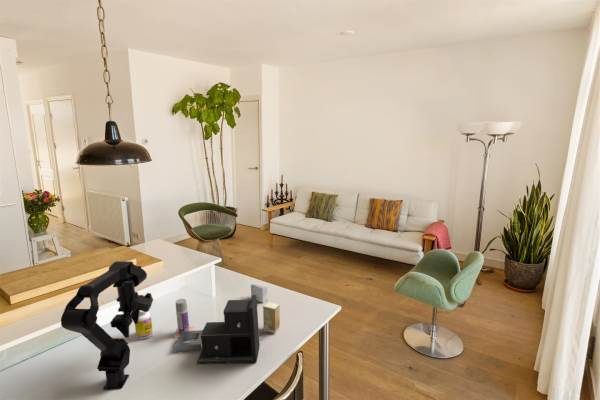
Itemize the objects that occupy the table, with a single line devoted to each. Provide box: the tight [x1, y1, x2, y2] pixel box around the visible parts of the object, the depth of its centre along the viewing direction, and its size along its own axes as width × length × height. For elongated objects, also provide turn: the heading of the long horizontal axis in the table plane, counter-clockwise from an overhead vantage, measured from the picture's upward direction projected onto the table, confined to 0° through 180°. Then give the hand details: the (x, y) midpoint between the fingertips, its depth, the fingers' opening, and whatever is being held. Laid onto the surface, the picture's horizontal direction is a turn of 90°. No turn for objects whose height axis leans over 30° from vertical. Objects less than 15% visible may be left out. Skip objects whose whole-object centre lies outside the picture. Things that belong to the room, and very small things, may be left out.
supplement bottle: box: [134, 310, 154, 340], centre depth 149 cm, size 7×7×13 cm
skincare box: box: [262, 301, 281, 335], centre depth 151 cm, size 6×4×12 cm
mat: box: [173, 326, 195, 339], centre depth 152 cm, size 7×7×1 cm
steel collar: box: [174, 329, 203, 353], centre depth 143 cm, size 10×10×3 cm
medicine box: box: [250, 281, 269, 304], centre depth 179 cm, size 8×4×9 cm, turn 58°
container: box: [175, 298, 190, 335], centre depth 150 cm, size 5×5×15 cm
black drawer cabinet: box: [196, 294, 261, 365], centre depth 133 cm, size 23×11×24 cm, turn 90°
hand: (132, 330), depth 131 cm, fingers open, 9 cm apart
